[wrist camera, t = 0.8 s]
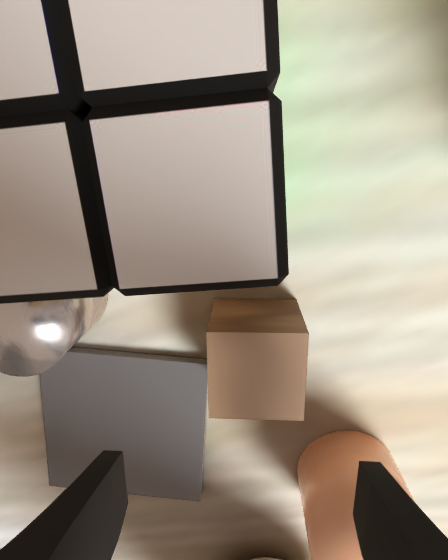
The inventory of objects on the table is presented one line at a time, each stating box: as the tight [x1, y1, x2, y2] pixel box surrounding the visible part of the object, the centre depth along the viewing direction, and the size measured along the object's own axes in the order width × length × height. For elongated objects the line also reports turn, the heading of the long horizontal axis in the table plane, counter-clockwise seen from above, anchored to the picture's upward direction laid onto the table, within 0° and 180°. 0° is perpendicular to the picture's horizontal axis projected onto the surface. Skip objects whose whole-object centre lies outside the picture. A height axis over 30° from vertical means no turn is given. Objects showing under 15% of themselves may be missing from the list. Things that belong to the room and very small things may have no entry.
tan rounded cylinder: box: [297, 431, 415, 560], centre depth 21 cm, size 6×6×6 cm
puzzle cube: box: [0, 0, 289, 304], centre depth 14 cm, size 10×10×10 cm
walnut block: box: [206, 299, 309, 421], centre depth 19 cm, size 4×4×4 cm
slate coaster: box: [40, 347, 208, 501], centre depth 23 cm, size 10×10×1 cm
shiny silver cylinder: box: [0, 293, 108, 376], centre depth 19 cm, size 5×5×5 cm
